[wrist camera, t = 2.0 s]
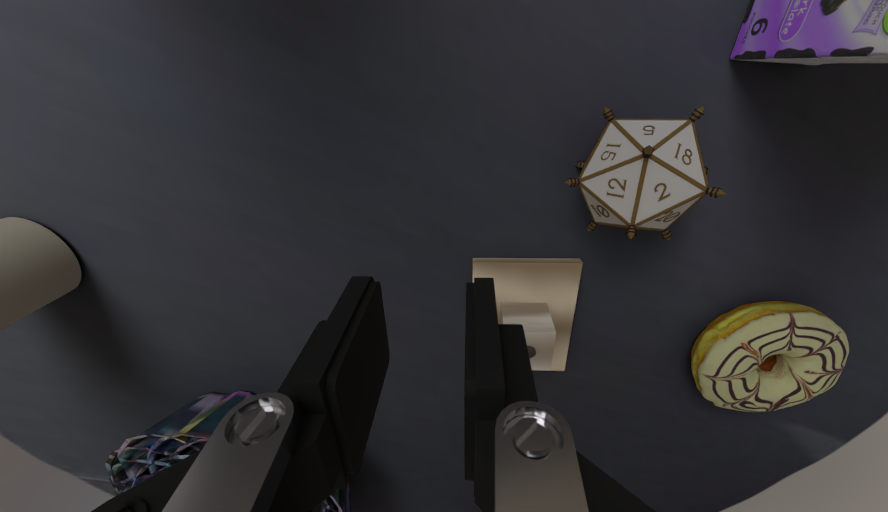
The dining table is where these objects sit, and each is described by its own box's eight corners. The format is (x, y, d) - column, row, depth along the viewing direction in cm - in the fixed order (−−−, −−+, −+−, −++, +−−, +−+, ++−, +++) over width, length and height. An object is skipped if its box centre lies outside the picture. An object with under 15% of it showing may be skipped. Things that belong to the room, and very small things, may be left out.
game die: (625, 141, 29) (776, 160, 22) (575, 233, 30) (705, 282, 23) (574, 74, 24) (756, 70, 16) (514, 190, 24) (661, 237, 17)
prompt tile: (472, 257, 31) (473, 289, 27) (580, 258, 30) (598, 290, 26) (471, 362, 36) (471, 402, 32) (562, 365, 36) (575, 406, 31)
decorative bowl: (226, 494, 55) (182, 578, 46) (116, 371, 40) (23, 461, 32) (389, 493, 52) (374, 583, 43) (333, 360, 37) (294, 456, 29)
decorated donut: (731, 404, 37) (759, 441, 34) (654, 350, 35) (675, 383, 31) (846, 337, 32) (893, 372, 29) (766, 268, 30) (807, 297, 26)
